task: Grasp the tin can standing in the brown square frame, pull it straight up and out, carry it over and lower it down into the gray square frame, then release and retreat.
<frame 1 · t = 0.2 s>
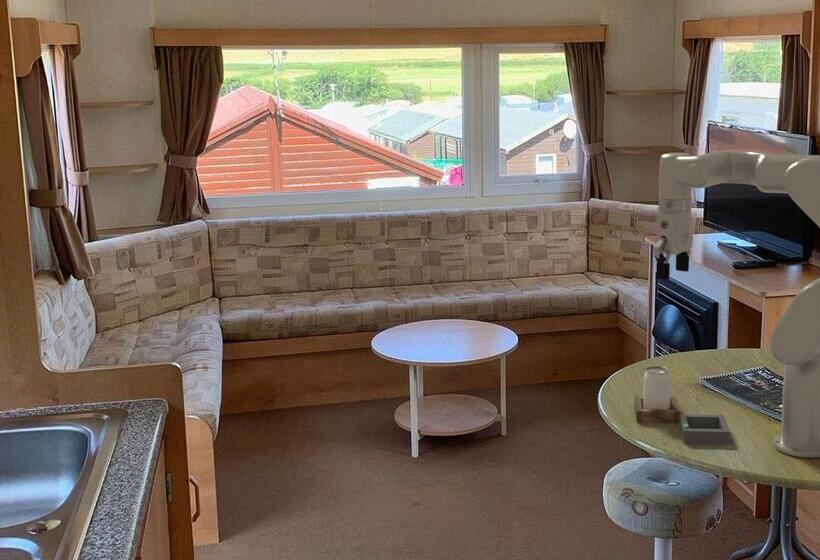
hand: (672, 274, 230), 36 cm above the table, tool pointing down, fingers open, 9 cm apart
gray square frame: (703, 434, 225), on the table
brown square frame: (656, 415, 238), on the table
can: (656, 415, 238), resting in brown square frame
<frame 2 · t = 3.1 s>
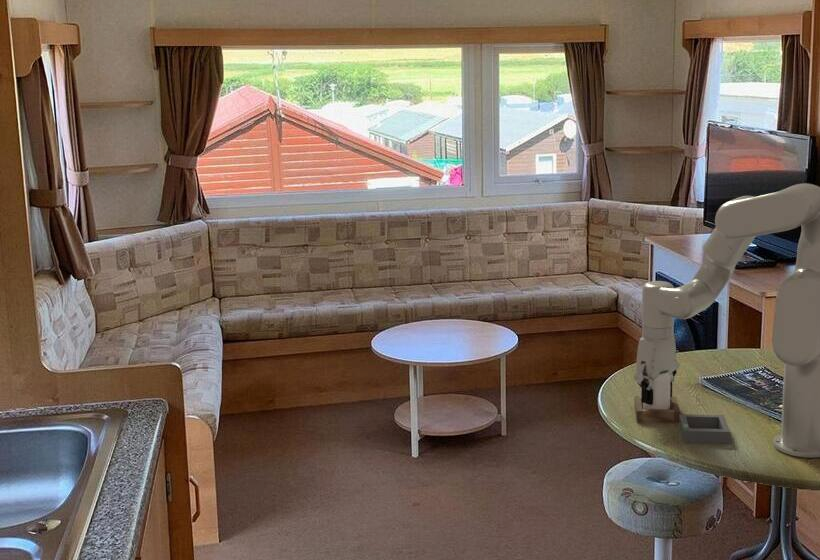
hand: (656, 399, 237), 4 cm above the table, tool pointing down, fingers closed on can, 6 cm apart
can: (656, 415, 238), resting in brown square frame, touching gripper
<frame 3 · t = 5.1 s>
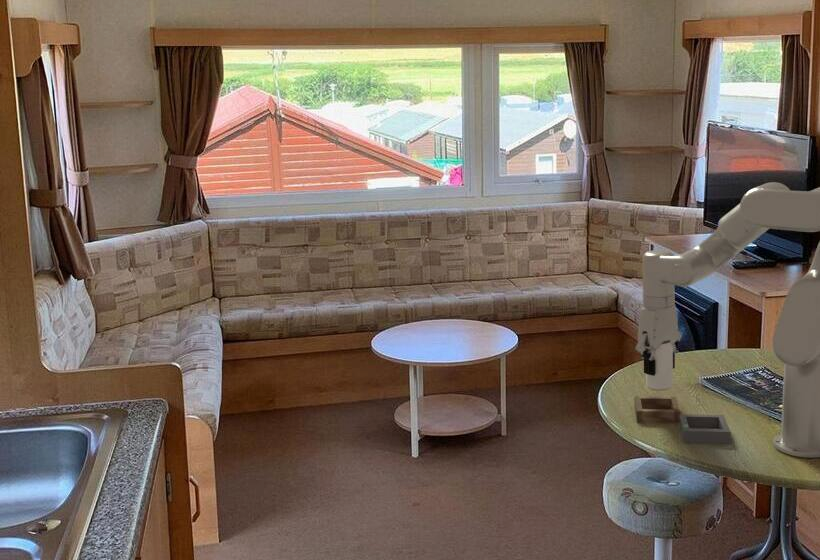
hand: (659, 370, 235), 12 cm above the table, tool pointing down, fingers closed on can, 6 cm apart
can: (659, 387, 236), point 8 cm above the table, touching gripper
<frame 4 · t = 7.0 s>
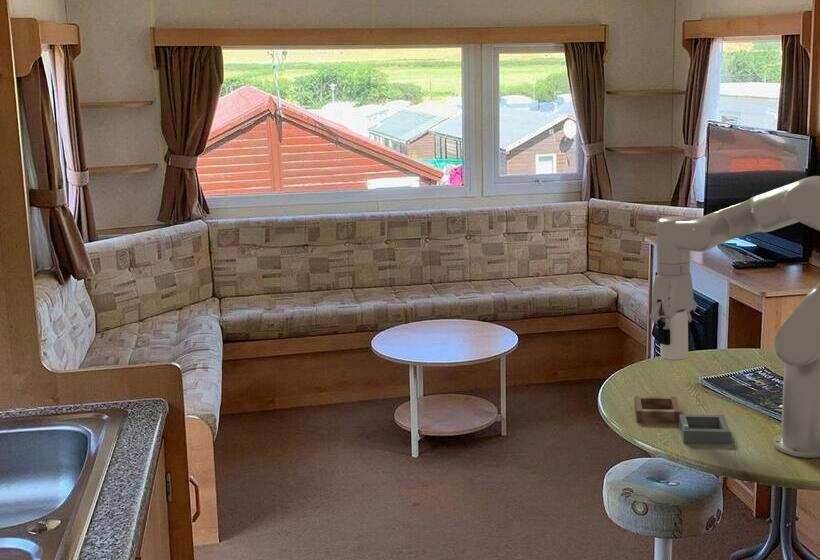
hand: (674, 340, 229), 21 cm above the table, tool pointing down, fingers closed on can, 6 cm apart
can: (674, 357, 230), point 17 cm above the table, touching gripper
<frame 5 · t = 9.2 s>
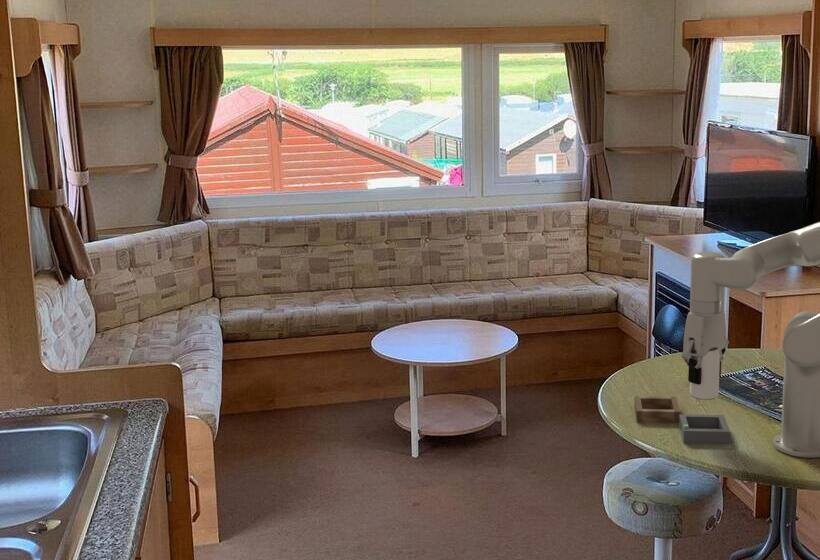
hand: (704, 378, 222), 14 cm above the table, tool pointing down, fingers closed on can, 6 cm apart
can: (704, 396, 223), point 10 cm above the table, touching gripper
when the fingers open (6 cm above the table, at t = 11.2 s): can drops 1 cm, resting in gray square frame.
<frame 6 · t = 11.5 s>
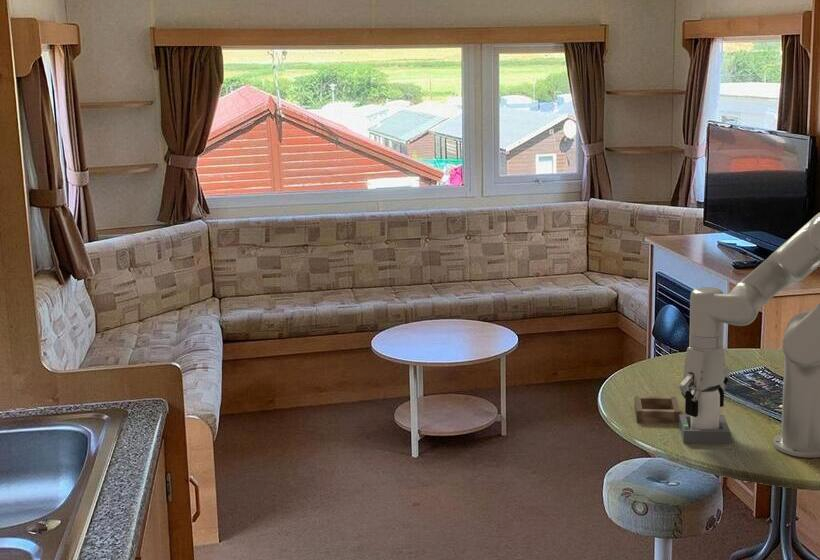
hand: (704, 410, 224), 6 cm above the table, tool pointing down, fingers open, 9 cm apart
can: (704, 435, 225), resting in gray square frame
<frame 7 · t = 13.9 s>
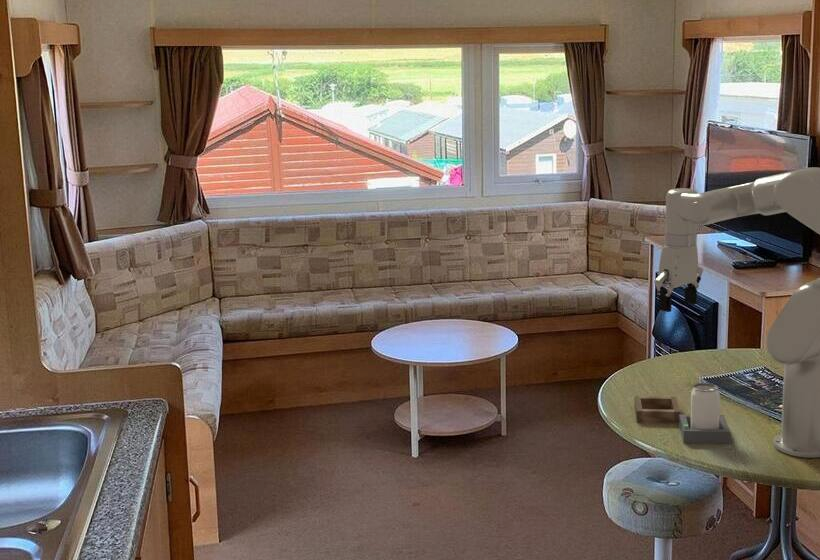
hand: (677, 307, 235), 27 cm above the table, tool pointing down, fingers open, 9 cm apart
nothing on the table moved.
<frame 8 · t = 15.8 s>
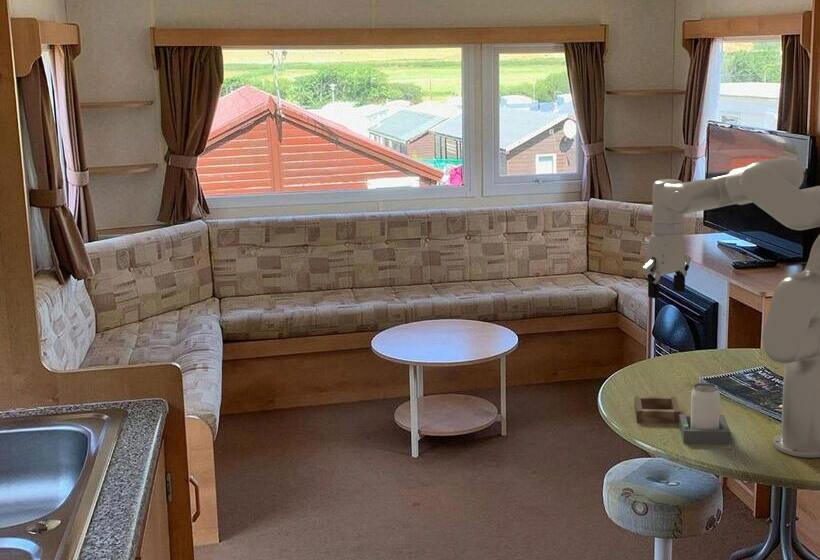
hand: (666, 294, 243), 28 cm above the table, tool pointing down, fingers open, 9 cm apart
nothing on the table moved.
at the end: can 0.2 cm off-centre on the gray square frame, point 0.0 cm above the gray square frame's base; can tilted 0°; the gripper is holding nothing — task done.
